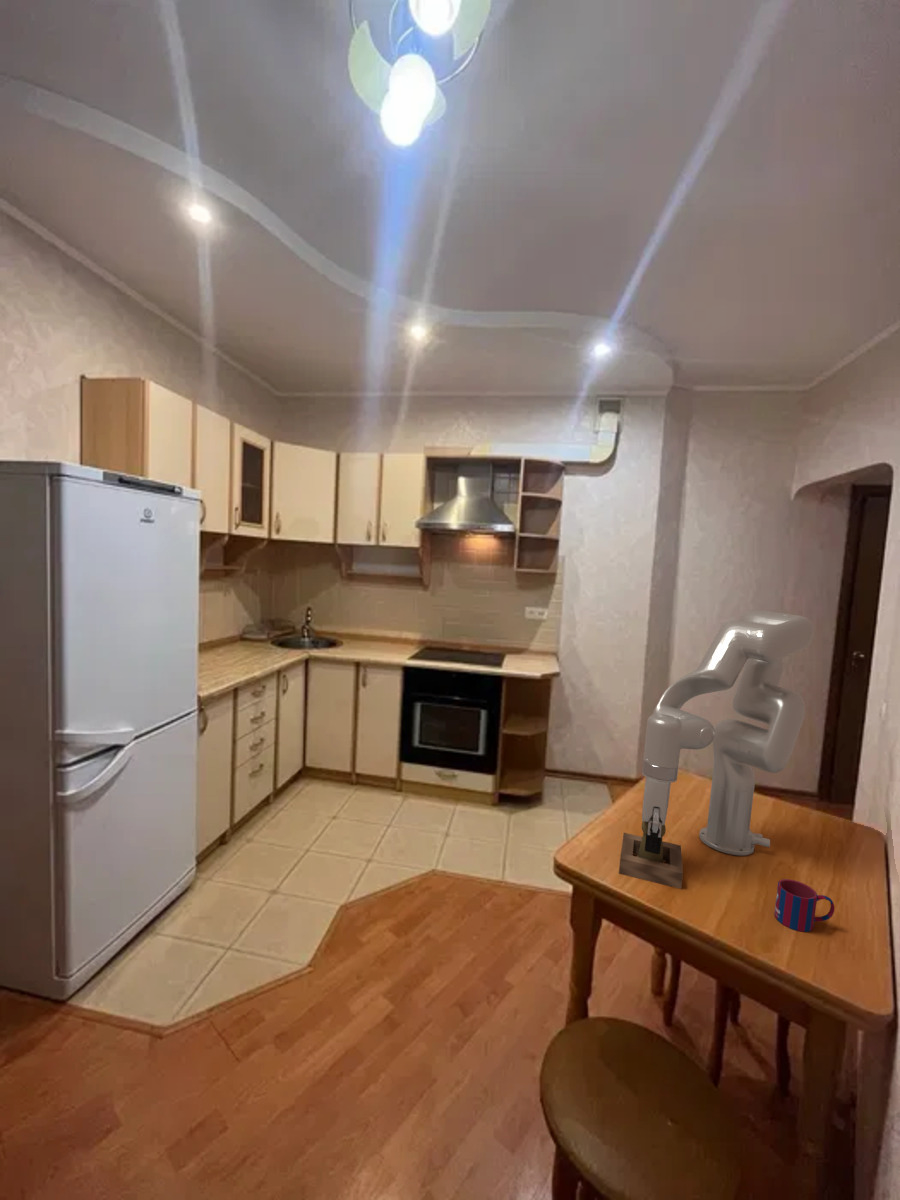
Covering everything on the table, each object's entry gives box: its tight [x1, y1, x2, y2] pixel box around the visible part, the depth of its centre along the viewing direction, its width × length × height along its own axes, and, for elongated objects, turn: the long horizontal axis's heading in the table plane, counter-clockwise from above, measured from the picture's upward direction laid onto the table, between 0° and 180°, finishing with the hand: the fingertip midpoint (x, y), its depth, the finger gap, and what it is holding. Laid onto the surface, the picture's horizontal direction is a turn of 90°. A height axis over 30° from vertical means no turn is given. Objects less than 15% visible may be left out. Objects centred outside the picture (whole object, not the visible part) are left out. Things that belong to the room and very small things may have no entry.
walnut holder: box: [618, 832, 684, 889], centre depth 130 cm, size 13×13×4 cm
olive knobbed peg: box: [636, 819, 667, 863], centre depth 129 cm, size 6×6×11 cm
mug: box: [774, 878, 835, 933], centre depth 112 cm, size 7×10×7 cm
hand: (652, 842), depth 129 cm, fingers open, 9 cm apart
